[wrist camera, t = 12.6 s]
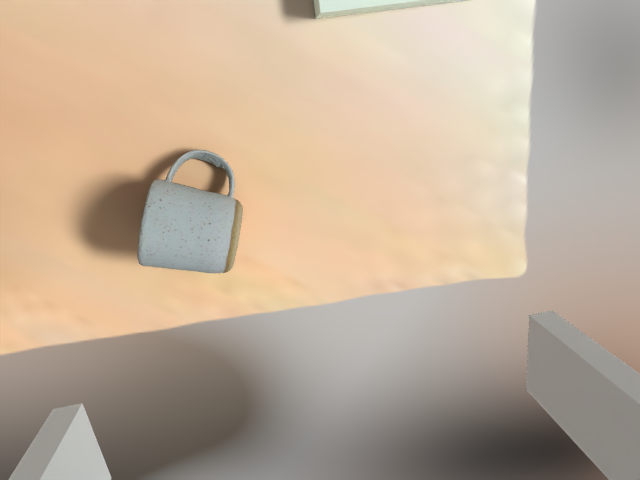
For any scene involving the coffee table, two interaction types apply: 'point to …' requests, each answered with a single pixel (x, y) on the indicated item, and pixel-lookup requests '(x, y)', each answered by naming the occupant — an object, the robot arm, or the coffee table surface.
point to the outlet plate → (365, 6)
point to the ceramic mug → (190, 223)
